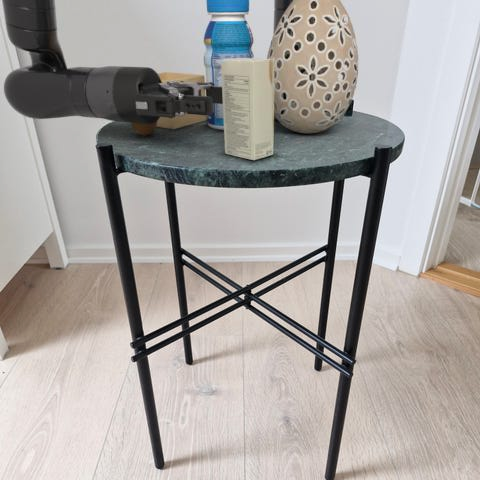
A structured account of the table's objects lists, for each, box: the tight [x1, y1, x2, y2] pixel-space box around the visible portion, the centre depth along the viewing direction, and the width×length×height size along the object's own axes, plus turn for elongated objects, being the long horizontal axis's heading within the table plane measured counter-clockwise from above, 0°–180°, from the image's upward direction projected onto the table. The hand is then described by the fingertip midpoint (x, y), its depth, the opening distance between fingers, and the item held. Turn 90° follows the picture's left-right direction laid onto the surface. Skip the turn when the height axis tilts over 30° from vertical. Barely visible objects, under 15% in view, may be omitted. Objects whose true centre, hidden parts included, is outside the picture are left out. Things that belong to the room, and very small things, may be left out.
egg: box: [129, 121, 157, 137], centre depth 74 cm, size 4×4×6 cm
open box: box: [156, 71, 207, 130], centre depth 83 cm, size 9×9×8 cm
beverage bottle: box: [203, 0, 255, 131], centre depth 76 cm, size 8×8×20 cm
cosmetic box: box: [221, 57, 275, 161], centre depth 62 cm, size 6×4×12 cm
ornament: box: [266, 0, 359, 135], centre depth 71 cm, size 15×15×20 cm
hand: (224, 100), depth 63 cm, fingers open, 8 cm apart
